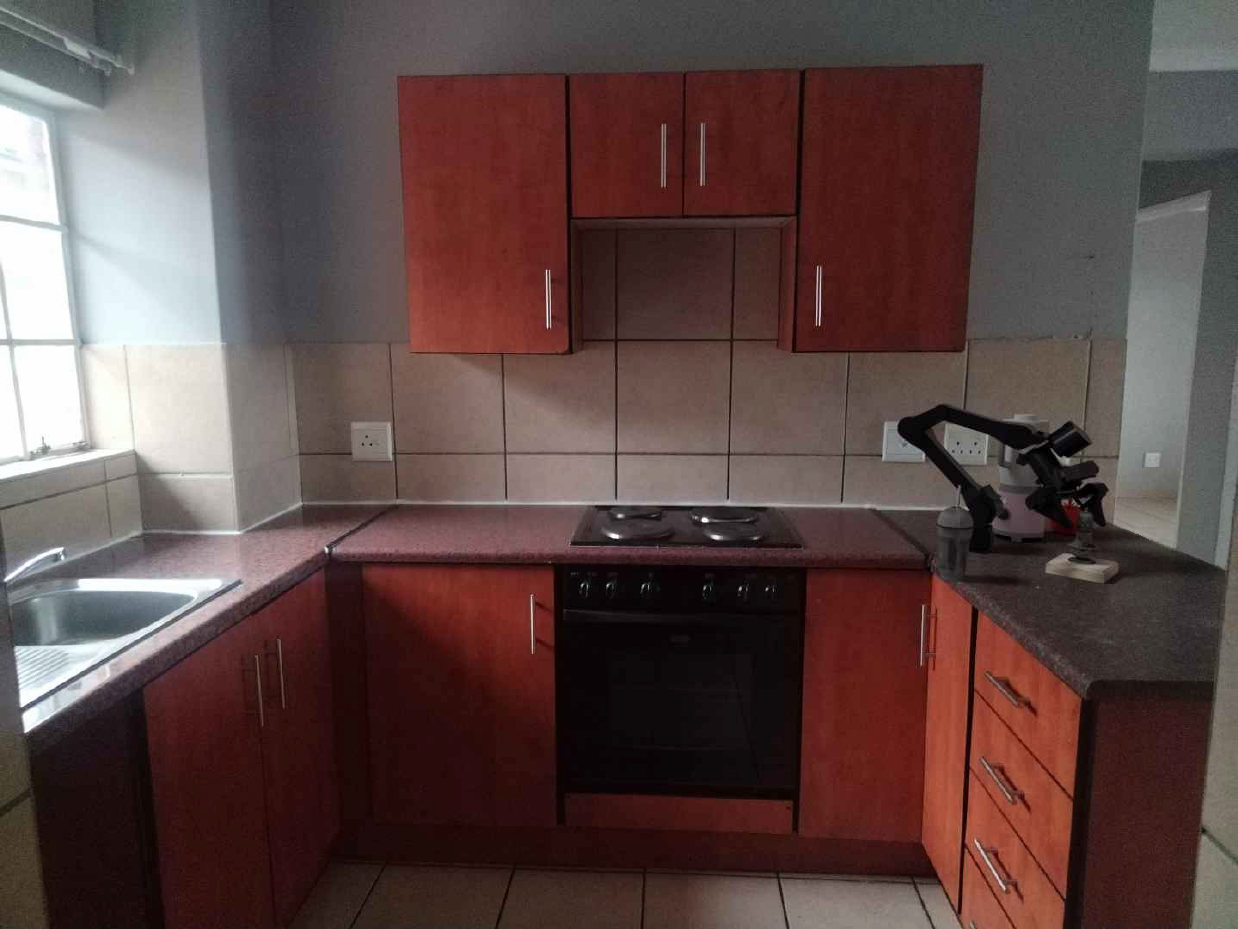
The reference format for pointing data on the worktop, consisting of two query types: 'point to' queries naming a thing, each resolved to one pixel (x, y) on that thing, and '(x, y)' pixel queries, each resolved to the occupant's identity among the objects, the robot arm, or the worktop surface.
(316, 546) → the worktop surface
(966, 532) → the beverage cup
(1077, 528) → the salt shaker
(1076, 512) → the red tomato
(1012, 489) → the blender
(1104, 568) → the wooden tray
